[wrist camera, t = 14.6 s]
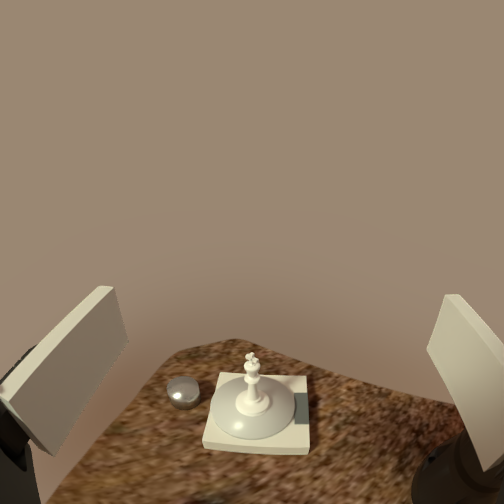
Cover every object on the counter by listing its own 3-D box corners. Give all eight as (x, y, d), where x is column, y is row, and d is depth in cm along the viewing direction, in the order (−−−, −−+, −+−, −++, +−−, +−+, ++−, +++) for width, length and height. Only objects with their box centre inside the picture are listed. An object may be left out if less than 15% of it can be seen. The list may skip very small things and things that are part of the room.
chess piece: (250, 386, 40) (248, 336, 36) (277, 401, 37) (280, 350, 33) (228, 405, 36) (222, 355, 33) (255, 422, 33) (255, 373, 30)
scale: (304, 384, 43) (306, 372, 42) (307, 454, 30) (310, 444, 29) (221, 380, 45) (219, 368, 44) (204, 448, 32) (201, 437, 31)
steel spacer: (203, 390, 43) (201, 378, 42) (197, 412, 38) (194, 400, 37) (175, 386, 43) (171, 374, 42) (166, 407, 38) (162, 396, 37)
